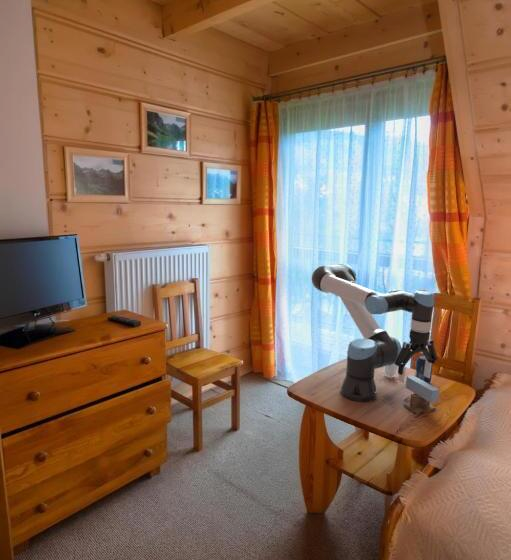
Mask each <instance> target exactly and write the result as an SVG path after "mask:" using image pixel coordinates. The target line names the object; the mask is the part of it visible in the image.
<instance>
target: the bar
mask: <svg viewBox="0 0 511 560" xmlns="http://www.w3.org/2000/svg"><path fill="white" fill-rule="evenodd" d="M405 382H406V383H405V389H407V390H409V391H410V392H411V393H413V394H417V395H419V396H420V397H422V398H424V399H425V400H427V401H429V402H430V404H433V403H438V402H439V397H440V389H439V388H437V387H435V386H434V385H432V384H431V383H429V384H428V383H426V382H425V381H423V380H421V379H419V378H417V377H415V375H408V376H406V378H405Z"/></svg>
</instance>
